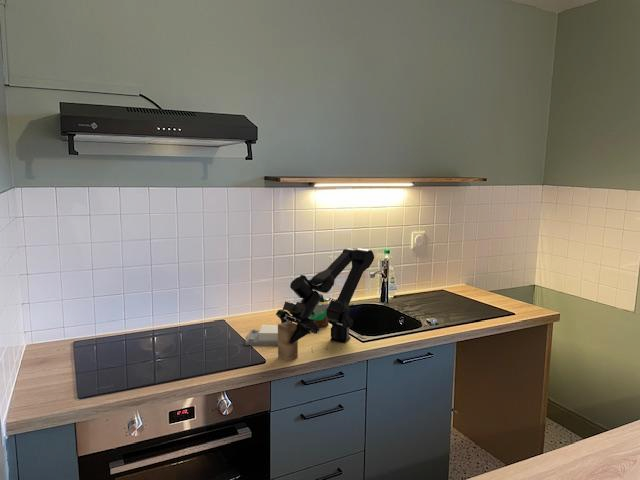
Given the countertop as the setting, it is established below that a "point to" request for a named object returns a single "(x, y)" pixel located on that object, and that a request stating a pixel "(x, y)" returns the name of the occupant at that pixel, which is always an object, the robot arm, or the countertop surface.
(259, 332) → the base brick
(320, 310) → the food container
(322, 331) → the countertop surface
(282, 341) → the walnut brick
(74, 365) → the countertop surface
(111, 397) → the countertop surface
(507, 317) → the countertop surface
